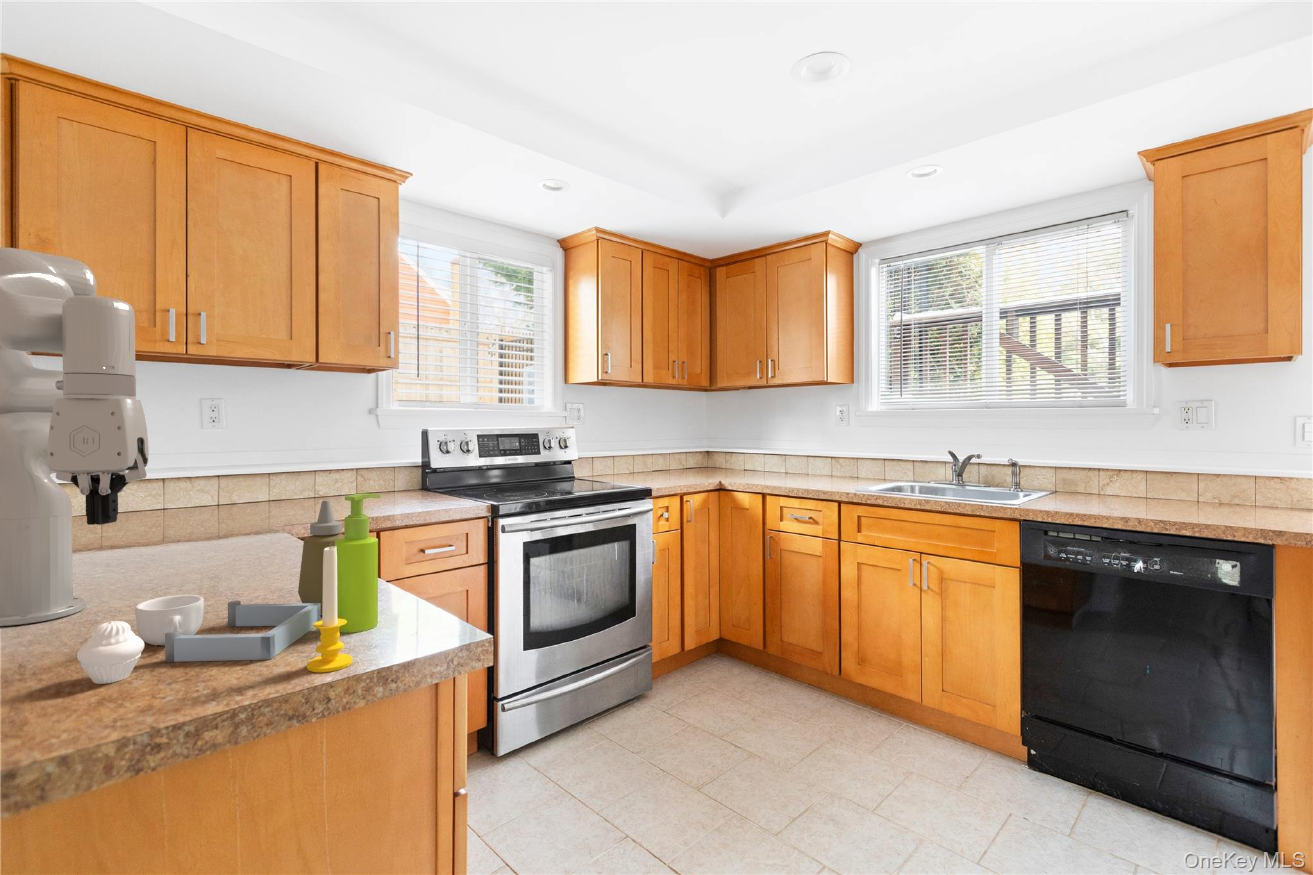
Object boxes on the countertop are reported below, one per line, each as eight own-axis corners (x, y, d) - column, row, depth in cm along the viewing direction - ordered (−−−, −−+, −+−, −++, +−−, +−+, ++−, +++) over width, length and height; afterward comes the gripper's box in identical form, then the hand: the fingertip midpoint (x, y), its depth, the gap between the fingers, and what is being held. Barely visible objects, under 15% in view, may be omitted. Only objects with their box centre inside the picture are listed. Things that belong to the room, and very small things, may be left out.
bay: (162, 662, 82) (162, 635, 82) (231, 623, 97) (231, 600, 97) (269, 660, 83) (269, 633, 83) (321, 622, 99) (321, 599, 99)
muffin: (125, 687, 74) (125, 627, 74) (63, 691, 73) (63, 630, 73) (155, 667, 80) (155, 611, 80) (98, 670, 79) (98, 614, 79)
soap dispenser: (391, 621, 100) (391, 492, 99) (356, 634, 93) (357, 497, 93) (361, 616, 102) (361, 491, 101) (325, 629, 95) (325, 495, 95)
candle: (323, 675, 78) (323, 548, 78) (297, 667, 81) (298, 544, 80) (361, 662, 83) (361, 542, 82) (336, 654, 85) (336, 538, 85)
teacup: (133, 639, 90) (133, 601, 90) (199, 627, 96) (199, 591, 95) (139, 659, 83) (139, 617, 83) (210, 645, 88) (210, 606, 88)
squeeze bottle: (363, 604, 108) (363, 498, 108) (334, 619, 100) (334, 504, 100) (318, 602, 109) (318, 497, 109) (286, 617, 101) (286, 503, 101)
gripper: (16, 387, 83) (18, 528, 83) (140, 387, 84) (141, 526, 85) (63, 390, 90) (65, 520, 91) (176, 391, 92) (178, 518, 92)
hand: (102, 522), depth 88 cm, fingers closed
